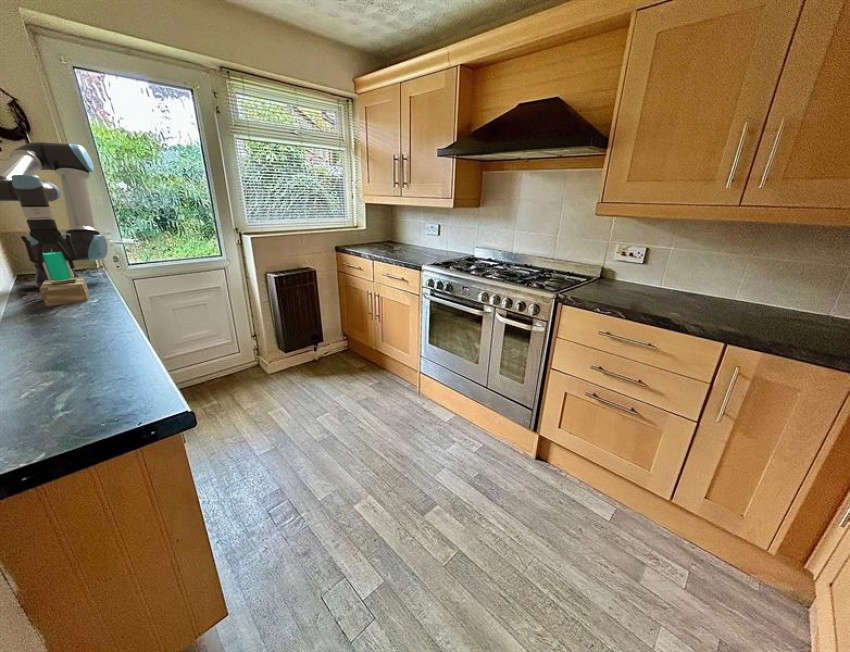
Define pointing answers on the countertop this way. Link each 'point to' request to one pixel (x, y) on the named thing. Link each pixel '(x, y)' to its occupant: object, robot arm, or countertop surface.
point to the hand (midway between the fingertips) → (61, 277)
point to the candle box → (64, 291)
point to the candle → (56, 265)
